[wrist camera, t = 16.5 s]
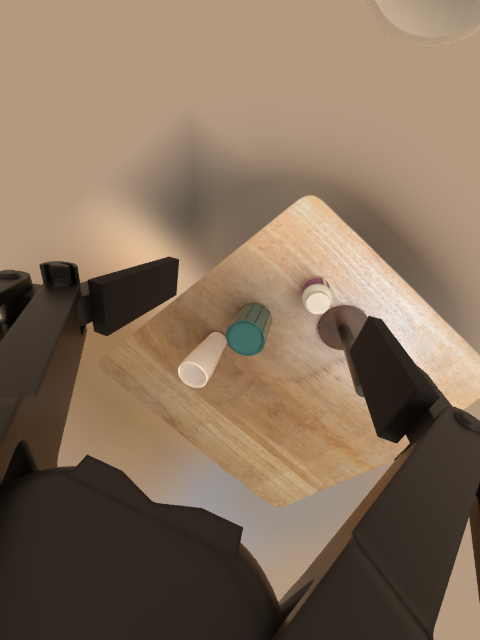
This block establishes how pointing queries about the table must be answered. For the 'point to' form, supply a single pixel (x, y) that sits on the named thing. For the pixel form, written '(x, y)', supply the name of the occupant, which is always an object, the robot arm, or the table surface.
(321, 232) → the table surface
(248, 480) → the table surface
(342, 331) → the towel holder
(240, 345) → the teal fluted cylinder
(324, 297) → the pill bottle
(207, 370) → the drinking glass
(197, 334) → the table surface
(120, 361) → the table surface
